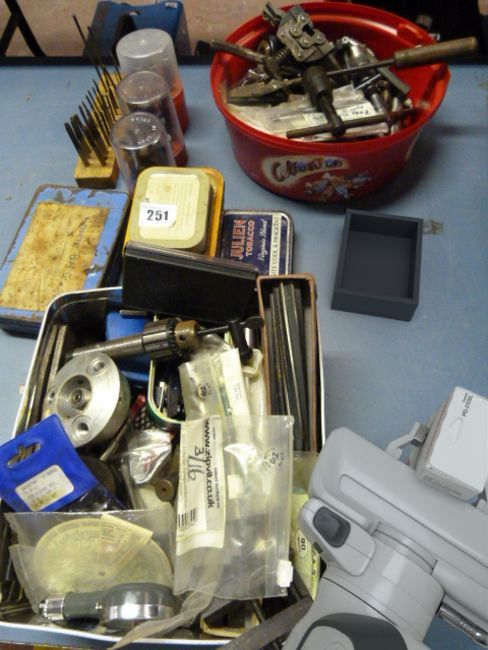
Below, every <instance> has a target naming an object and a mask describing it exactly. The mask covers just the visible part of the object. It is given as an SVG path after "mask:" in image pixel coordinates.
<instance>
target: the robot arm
mask: <svg viewBox="0 0 488 650" xmlns="http://www.w3.org/2000/svg"><path fill="white" fill-rule="evenodd" d="M429 430H430V429H429V428H427V427H426V426H424V425H423V423H420V422H419V421H418V420H415V422H414V423H413V424H412V426H411V427H410V429H409V431H408V432H407V433H406V434H404V435H401V436H400V437H398V438H396V439H394V440H392V441H390V442H389V443H388V444H387V446H386V447H385V448H384V449H382V448H380V447H379V446H377V445H375V444H374V443H372V442H371V441H370V440H368V439H367V438H364V437H363V436H361V435H359V434H357V433H356V432H354V431H353V430H351V429H350V428H348V427H346V426H341V427H336V428H334V429H332V430H331V431H330V433H329V435H328V436H327V438H326V439H325V442H324V443H323V446H322V447H321V450H320V452H319V454H318V457H317V459H316V461H315V464H314V465H313V468H312V470H311V474H310V476H309V481H308V485H307V497H308V499H307V500H306V501H305V502H304V503H303V504H302V505H301V506H300V508H299V510H298V513H297V515H296V523H297V526H298V529H299V530H300V532H301V534H302V535H303V537H305V539H306V540H307V541H308V542H309V544H310V546H311V547H313V548H314V550H315V551H316V553H317V554H318V555H319V556H320V558H321V559H322V560H323V561H324V563H325V564H326V569H325V570H324V572H323V573H322V576H321V577H320V580H319V581H318V585H317V588H316V592H315V593H316V594H315V595H314V599H313V601H312V604H311V605H310V608H308V610H307V612H306V613H305V614H304V615H303V617H301V618H300V619H299V620H298V621H297V622H296V623H295V625H294V626H293V628H292V629H291V631H290V632H289V634H288V636H287V638H286V640H285V642H284V644H283V646H282V647H281V649H280V650H432V648H430V647H429V646H428V645H426V644H425V643H424V642H423V641H424V639H425V637H426V635H427V632H428V630H429V629H430V626H431V625H432V621H433V620H434V618H435V616H437V618H439V619H441V620H442V621H444V622H445V623H446V624H448V625H449V626H451V627H452V628H454V629H456V630H457V631H459V632H461V633H463V634H464V635H466V636H467V637H468V638H469V639H470V640H471V641H472V642H473V643H474V644H476V645H478V646H479V647H481V648H483V649H486V650H488V477H487V480H486V483H485V486H484V489H483V491H482V492H481V493H480V494H478V495H477V500H476V501H474V502H471V503H469V502H468V501H463V500H461V499H459V498H457V497H455V496H453V495H451V494H448V493H446V492H444V491H442V490H440V489H438V488H436V487H434V486H432V485H430V484H428V483H426V482H424V481H422V480H420V479H418V478H417V477H416V470H414V469H413V468H411V467H409V466H408V465H407V463H404V462H403V461H401V460H400V458H401V457H402V454H403V453H404V452H403V448H405V447H408V446H410V445H412V447H413V446H415V447H417V448H419V447H420V445H421V444H422V443H423V442H424V440H425V438H426V435H427V434H428V432H429Z"/></svg>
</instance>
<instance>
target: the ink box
mask: <svg viewBox="0 0 488 650" xmlns="http://www.w3.org/2000/svg"><path fill="white" fill-rule="evenodd" d="M422 425H424V426H426V427H427V428H429V429H430V430H429V432H428V434H427V435H426V438H425V440H424V442H423V443H422V444H421V445H420V447H419V448H417V447H415V446H413V445H412V449H411V452H410V454H409V457H408V460H407V462H406V465H408V466H409V467H411V468H413V469H414V470H416V477H417V478H418V479H420V480H422V481H424V482H426V483H428V484H430V485H432V486H434V487H436V488H438V489H440V490H442V491H444V492H446V493H448V494H451V495H453V496H455V497H457V498H459V499H461V500H463V501H466V502H468V501H470V500H471V499H472V498H474V497H476V496H478V494H480V493H481V492H482V491H483V489H484V486H485V483H486V480H487V477H488V398H487V397H485V396H482V395H480V394H478V393H476V392H474V391H471V390H469V389H467V388H464V387H462V386H459V385H458V386H455V387H454V388H453V390H452V391H450V393H449V394H448V395H447V397H446V398H445V399H444V400H443V401H442V402H441V404H440V405H439V406H438V407H437V408H436V409H435V411H434V412H433V413H432V414H431V415H430V416H429V418H428V419H427V420H426V421H425V422H424V423H422Z"/></svg>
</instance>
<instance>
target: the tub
mask: <svg viewBox="0 0 488 650" xmlns="http://www.w3.org/2000/svg"><path fill="white" fill-rule="evenodd" d="M344 216H345V217H344V222H343V226H342V233H341V237H340V238H341V239H340V244H339V250H338V251H339V252H338V259H337V264H336V270H335V276H334V284H333V290H332V296H331V302H330V310H333V311H334V310H335V311H339V312H346V313H353V314H358V315H364V316H365V315H366V316H372V317H376V318H377V317H378V318H385V319H391V320H397V321H403V322H409V323H410V322H411V321H412V318H413V317H414V315H415V313H416V310H417V308H418V306H419V302H420V288H421V287H420V285H421V268H422V254H423V253H422V251H423V236H424V235H423V234H424V218H422V217H414V216H405V215H399V214H398V215H397V214H392V213H383V212H382V213H381V212H375V211H367V210H361V209H352V208H346V211H345V215H344Z"/></svg>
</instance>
